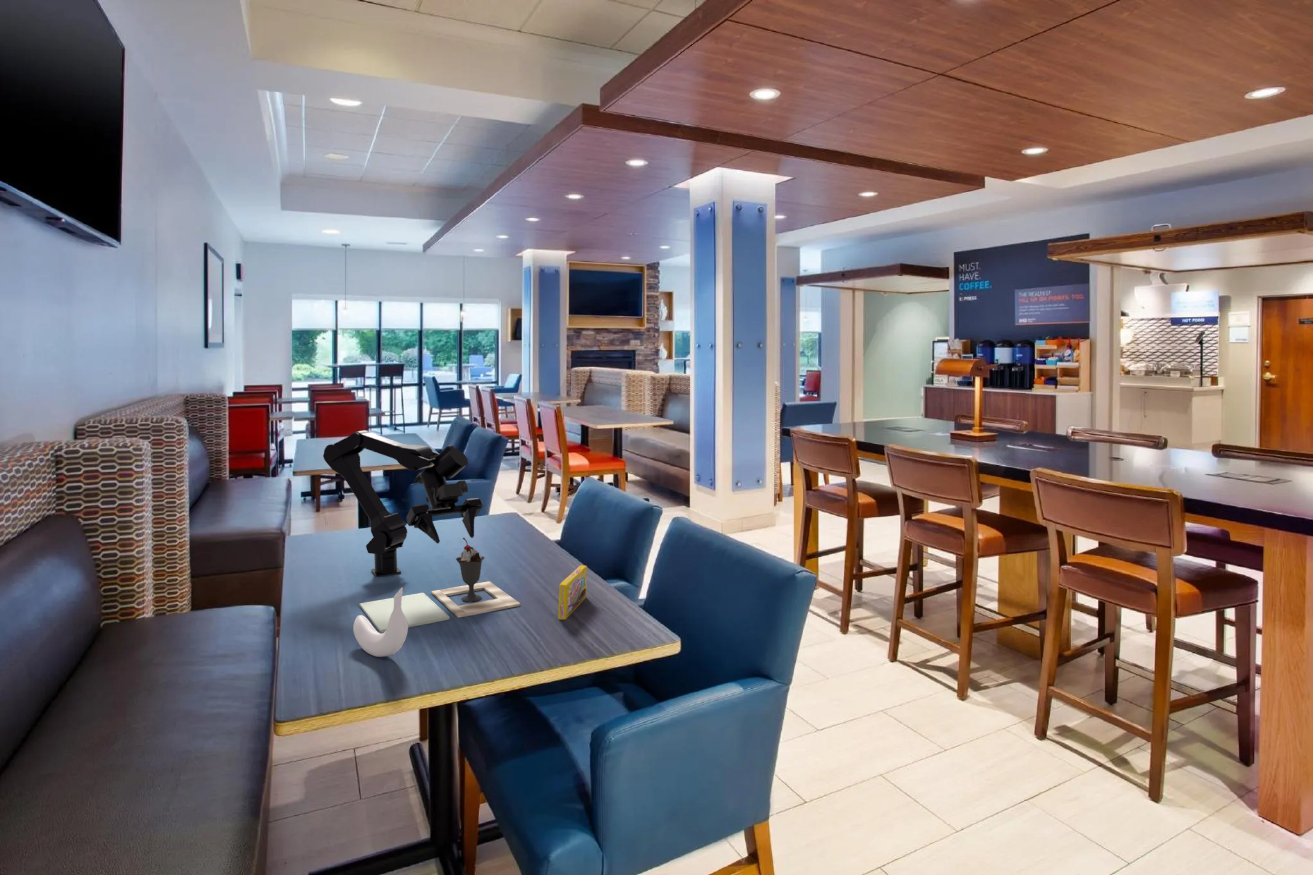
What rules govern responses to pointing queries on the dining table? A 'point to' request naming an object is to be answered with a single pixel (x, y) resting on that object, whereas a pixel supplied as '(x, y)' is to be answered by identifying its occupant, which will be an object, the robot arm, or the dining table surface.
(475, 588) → the wooden picture frame
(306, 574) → the dining table surface
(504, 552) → the dining table surface
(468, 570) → the sundae
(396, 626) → the white curved piece
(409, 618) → the stub pad
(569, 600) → the candy box
